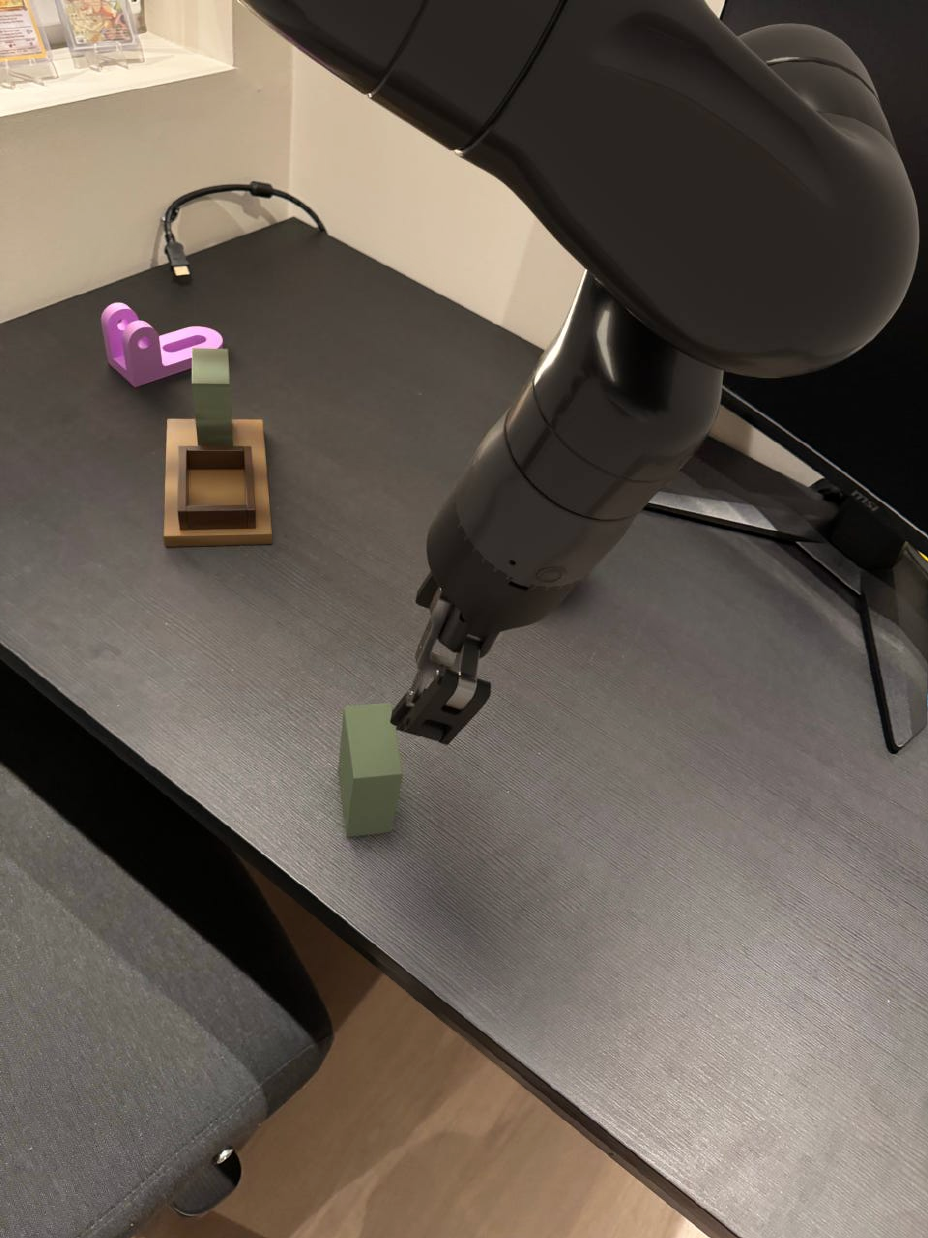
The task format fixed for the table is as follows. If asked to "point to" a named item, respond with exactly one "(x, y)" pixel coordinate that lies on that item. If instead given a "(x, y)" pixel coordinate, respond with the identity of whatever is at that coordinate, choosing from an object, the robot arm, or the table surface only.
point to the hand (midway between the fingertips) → (418, 661)
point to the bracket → (150, 346)
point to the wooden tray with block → (215, 466)
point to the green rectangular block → (369, 769)
